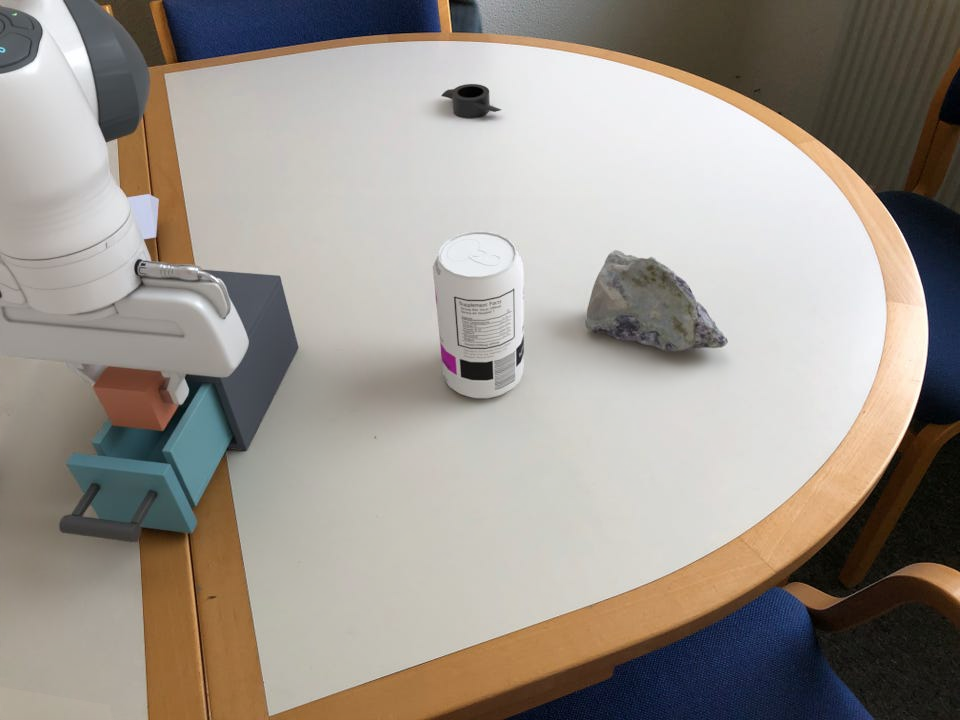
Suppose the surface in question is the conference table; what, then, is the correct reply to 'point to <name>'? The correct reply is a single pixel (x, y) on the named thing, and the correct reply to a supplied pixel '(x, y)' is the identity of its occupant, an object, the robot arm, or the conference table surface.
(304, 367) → the conference table surface
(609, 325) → the mineral rock
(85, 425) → the conference table surface
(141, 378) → the block
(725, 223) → the conference table surface
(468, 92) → the black finned ring
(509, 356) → the supplement can
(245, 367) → the grey drawer cabinet
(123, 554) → the conference table surface
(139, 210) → the lavender piece
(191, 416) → the drawer
